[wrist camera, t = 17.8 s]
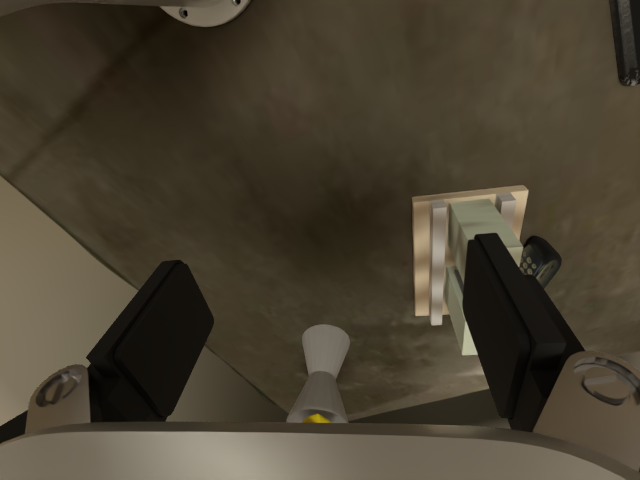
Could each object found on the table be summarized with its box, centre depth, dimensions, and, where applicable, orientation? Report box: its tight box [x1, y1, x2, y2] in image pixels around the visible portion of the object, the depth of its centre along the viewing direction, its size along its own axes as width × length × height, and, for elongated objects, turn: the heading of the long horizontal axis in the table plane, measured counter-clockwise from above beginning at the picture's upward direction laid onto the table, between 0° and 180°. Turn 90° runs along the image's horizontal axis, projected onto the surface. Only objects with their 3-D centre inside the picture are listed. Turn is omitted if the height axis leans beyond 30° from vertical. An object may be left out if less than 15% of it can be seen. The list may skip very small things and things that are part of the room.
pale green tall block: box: [445, 266, 478, 355], centre depth 43 cm, size 4×6×10 cm
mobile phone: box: [519, 237, 562, 289], centre depth 45 cm, size 5×3×15 cm
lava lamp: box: [286, 324, 350, 423], centre depth 45 cm, size 9×9×35 cm
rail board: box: [412, 185, 529, 325], centre depth 41 cm, size 20×13×12 cm, turn 10°
